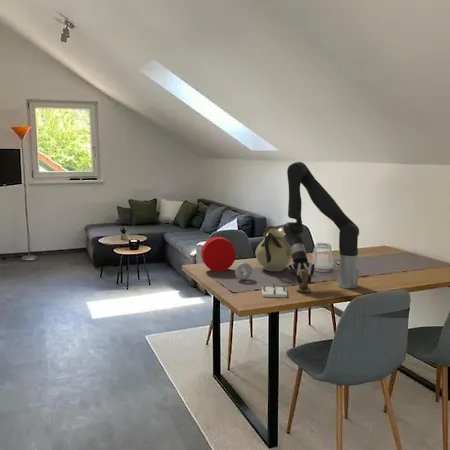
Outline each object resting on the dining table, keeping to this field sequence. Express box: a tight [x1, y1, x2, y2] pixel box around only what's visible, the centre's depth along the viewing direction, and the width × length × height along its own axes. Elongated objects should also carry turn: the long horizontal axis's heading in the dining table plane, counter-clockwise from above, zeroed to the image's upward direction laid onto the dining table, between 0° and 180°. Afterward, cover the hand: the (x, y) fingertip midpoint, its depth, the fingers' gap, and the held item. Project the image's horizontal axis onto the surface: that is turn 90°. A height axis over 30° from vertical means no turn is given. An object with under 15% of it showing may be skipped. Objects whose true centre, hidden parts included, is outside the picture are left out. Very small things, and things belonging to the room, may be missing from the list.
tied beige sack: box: [254, 225, 293, 272], centre depth 281 cm, size 22×24×25 cm
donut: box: [234, 262, 253, 281], centre depth 259 cm, size 10×4×10 cm, turn 113°
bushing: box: [296, 268, 311, 294], centre depth 237 cm, size 7×7×11 cm
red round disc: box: [200, 236, 237, 273], centre depth 279 cm, size 20×6×20 cm, turn 103°
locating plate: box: [261, 283, 288, 298], centre depth 235 cm, size 12×12×4 cm
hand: (304, 282), depth 236 cm, fingers closed on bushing, 4 cm apart
